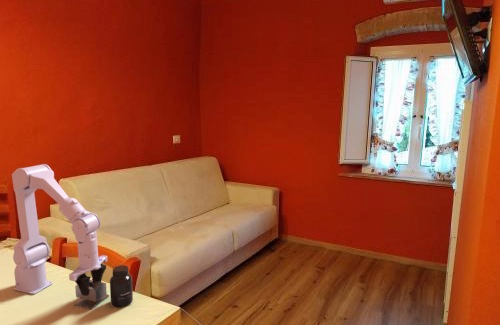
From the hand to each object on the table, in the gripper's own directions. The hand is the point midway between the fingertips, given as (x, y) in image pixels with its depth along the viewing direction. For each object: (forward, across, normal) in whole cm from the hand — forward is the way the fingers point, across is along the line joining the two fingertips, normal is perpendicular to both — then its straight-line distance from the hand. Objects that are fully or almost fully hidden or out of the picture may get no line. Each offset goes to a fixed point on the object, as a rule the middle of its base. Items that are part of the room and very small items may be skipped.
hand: (91, 290), depth 114 cm
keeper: (+4, 0, 0) cm, 4 cm away
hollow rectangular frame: (+2, 0, 0) cm, 2 cm away
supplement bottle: (+4, +2, -10) cm, 11 cm away
